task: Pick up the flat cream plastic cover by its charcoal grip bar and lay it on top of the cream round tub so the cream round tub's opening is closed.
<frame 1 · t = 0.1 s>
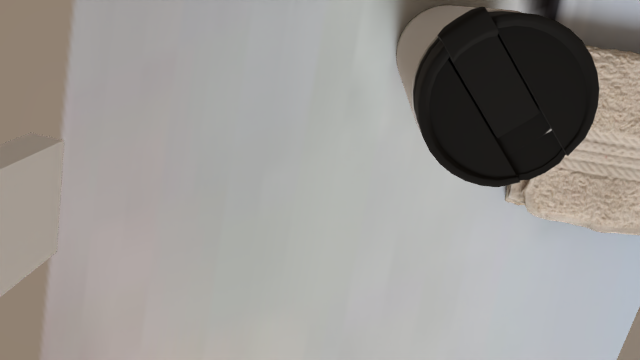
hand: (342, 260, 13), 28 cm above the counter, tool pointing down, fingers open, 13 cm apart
travel mug: (441, 51, 38), on the counter
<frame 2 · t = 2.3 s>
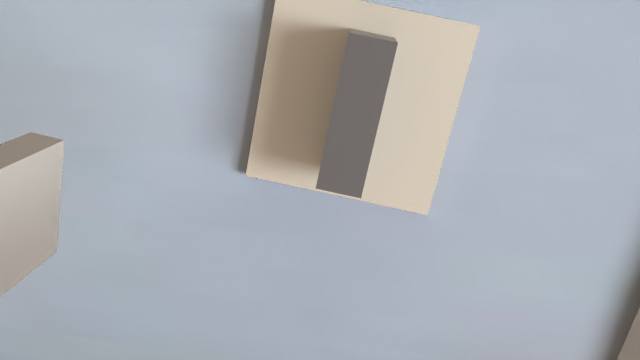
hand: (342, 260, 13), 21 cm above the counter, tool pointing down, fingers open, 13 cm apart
cover: (357, 101, 34), on the counter
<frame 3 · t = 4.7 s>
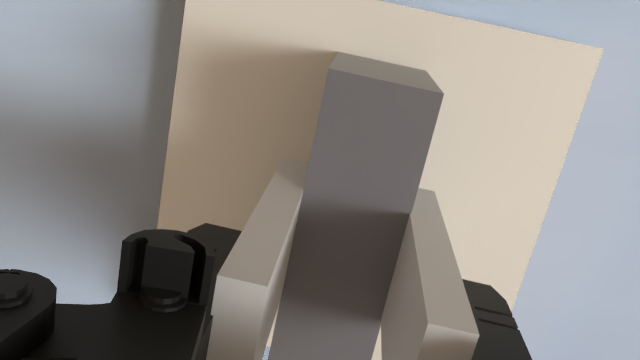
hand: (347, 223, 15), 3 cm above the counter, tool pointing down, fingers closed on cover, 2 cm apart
cover: (351, 185, 18), on the counter, touching gripper
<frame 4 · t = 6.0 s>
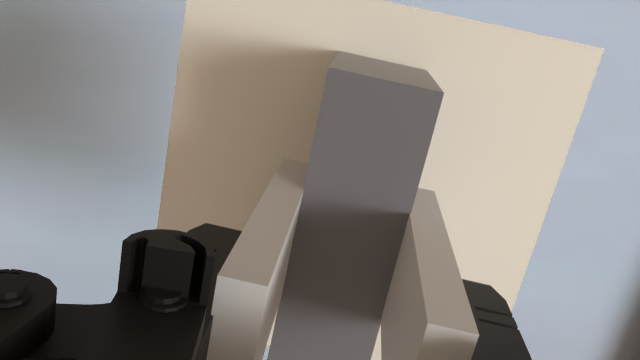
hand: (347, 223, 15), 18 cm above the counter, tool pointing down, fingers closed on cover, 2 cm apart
cover: (351, 184, 18), point 15 cm above the counter, touching gripper
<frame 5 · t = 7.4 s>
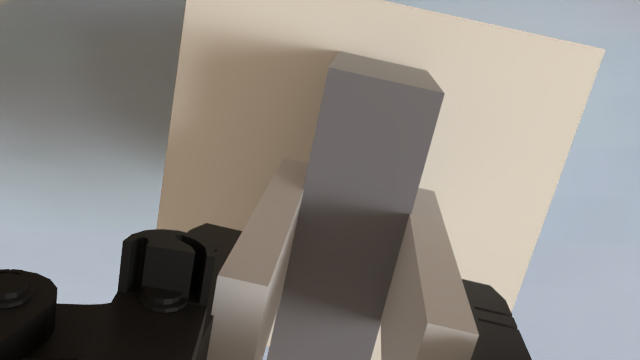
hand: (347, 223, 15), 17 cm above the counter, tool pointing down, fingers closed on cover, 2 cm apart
cover: (351, 185, 18), point 14 cm above the counter, touching gripper
when the fingers open (11 cm above the counter, at t = 8.5 s): cover drops 1 cm, resting on cream round tub.
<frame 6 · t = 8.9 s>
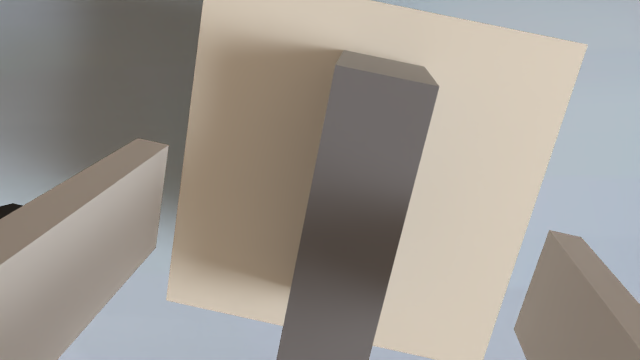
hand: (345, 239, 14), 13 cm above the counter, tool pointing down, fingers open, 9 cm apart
cover: (356, 174, 19), point 7 cm above the counter, touching cream round tub
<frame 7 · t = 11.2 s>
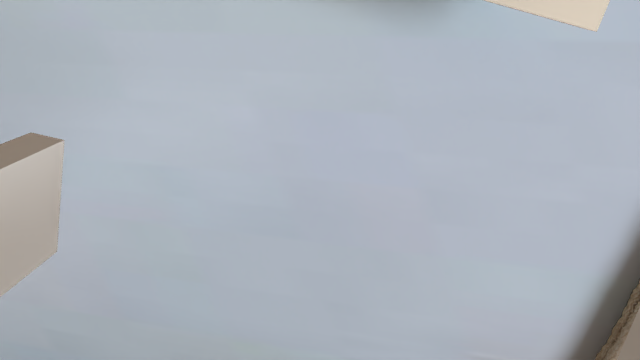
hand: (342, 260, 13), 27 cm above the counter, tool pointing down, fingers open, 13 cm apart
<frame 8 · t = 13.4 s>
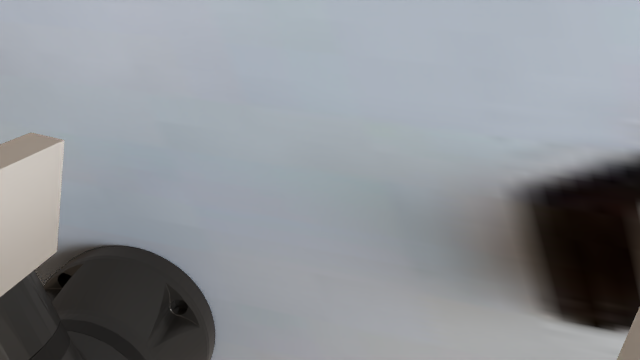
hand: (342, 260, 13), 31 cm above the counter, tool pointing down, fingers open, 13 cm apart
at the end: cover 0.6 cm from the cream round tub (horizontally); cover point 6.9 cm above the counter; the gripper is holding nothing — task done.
